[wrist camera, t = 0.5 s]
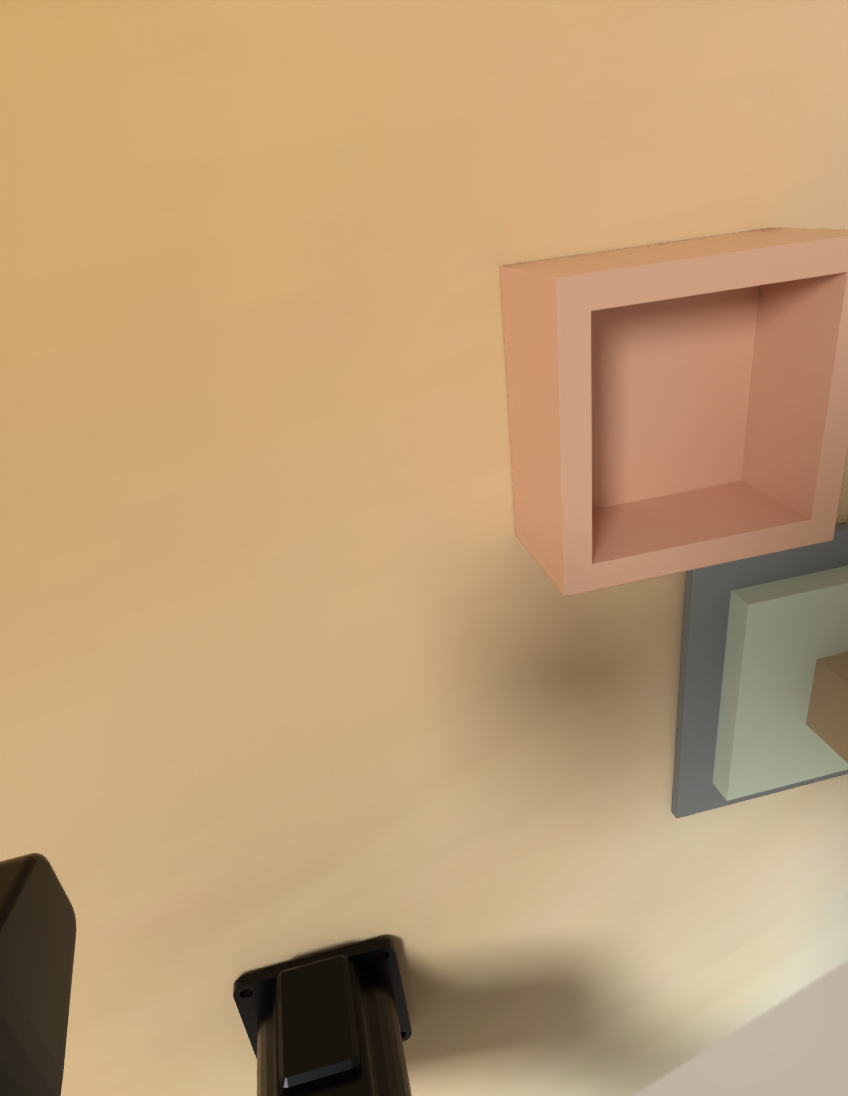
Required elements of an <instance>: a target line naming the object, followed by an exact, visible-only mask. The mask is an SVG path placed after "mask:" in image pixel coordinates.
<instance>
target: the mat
mask: <svg viewBox="0 0 848 1096" xmlns="http://www.w3.org/2000/svg"><path fill="white" fill-rule="evenodd" d="M843 566H848V523H844V524H839V525H835V531H834V537H833V540H831V541H826V542H821V543H817V544H812V545H807V546H802V547H798V548H793V549H788V550H783V551H778V552H774V553H769V554H764V555H759V556H755V557H750V558H745V559H740V560H735V561H731V562H726V563H721V564H716V565H712V566H707V567H702V568H697V569H692V570H688V571H686V586H685V602H684V617H683V633H682V649H681V665H680V681H679V697H678V713H677V729H676V745H675V761H674V777H673V793H672V809H671V811H672V813H673V814H674V816H675V817H676V818H680V817H684V816H688V815H691V814H695V813H699V812H703V811H707V810H711V809H714V808H718V807H722V806H726V805H730V804H734V803H737V802H741V801H745V800H749V799H753V798H757V797H760V796H764V795H768V794H772V793H776V792H780V791H783V790H787V789H791V788H795V787H799V786H803V785H806V784H810V783H814V782H818V781H822V780H826V779H829V778H833V777H837V776H841V775H845V774H848V770H844V771H840V772H836V773H832V774H829V775H825V776H821V777H817V778H813V779H809V780H805V781H802V782H798V783H794V784H790V785H786V786H782V787H779V788H775V789H771V790H767V791H763V792H759V793H755V794H752V795H748V796H744V797H740V798H736V799H732V800H729V801H727V800H726V799H725V798H724V797H723V795H722V794H721V793H720V792H719V790H718V789H717V788H716V787H715V785H714V784H713V783H712V782H713V772H714V762H715V751H716V741H717V730H718V720H719V710H720V699H721V689H722V678H723V668H724V658H725V647H726V637H727V626H728V616H729V605H730V595H731V591H732V590H736V589H741V588H746V587H750V586H755V585H760V584H764V583H769V582H773V581H778V580H783V579H787V578H792V577H797V576H801V575H806V574H811V573H815V572H820V571H824V570H829V569H834V568H838V567H843Z"/></svg>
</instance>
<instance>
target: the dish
mask: <svg viewBox="0 0 848 1096" xmlns="http://www.w3.org/2000/svg"><path fill="white" fill-rule="evenodd" d="M500 272H501V290H502V307H503V324H504V341H505V358H506V375H507V392H508V410H509V427H510V444H511V461H512V478H513V495H514V512H515V529H516V537H517V538H518V539H519V540H520V542H521V543H522V544H523V545H524V547H525V548H526V549H527V551H528V552H529V553H530V554H531V556H532V557H533V558H534V559H535V561H536V562H537V563H538V564H539V566H540V567H541V568H542V569H543V571H544V572H545V573H546V574H547V576H548V577H549V578H550V579H551V581H552V582H553V583H554V584H555V586H556V587H557V588H558V589H559V591H560V592H561V593H562V594H563V596H568V595H573V594H578V593H583V592H587V591H592V590H597V589H602V588H607V587H611V586H616V585H621V584H626V583H630V582H635V581H640V580H645V579H649V578H654V577H659V576H664V575H669V574H673V573H678V572H683V571H688V570H692V569H697V568H702V567H707V566H712V565H716V564H721V563H726V562H731V561H735V560H740V559H745V558H750V557H755V556H759V555H764V554H769V553H774V552H778V551H783V550H788V549H793V548H798V547H802V546H807V545H812V544H817V543H821V542H826V541H831V540H833V537H834V531H835V525H836V518H837V512H838V506H839V500H840V494H841V488H842V482H843V476H844V470H845V464H846V458H847V452H848V230H845V229H804V228H767V229H760V230H753V231H746V232H739V233H732V234H724V235H717V236H710V237H703V238H696V239H689V240H682V241H674V242H667V243H660V244H653V245H646V246H639V247H632V248H624V249H617V250H610V251H603V252H596V253H589V254H582V255H574V256H567V257H560V258H553V259H546V260H539V261H532V262H524V263H517V264H510V265H503V266H500Z"/></svg>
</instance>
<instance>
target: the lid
mask: <svg viewBox="0 0 848 1096" xmlns="http://www.w3.org/2000/svg"><path fill="white" fill-rule="evenodd" d="M844 770H848V566H843V567H838V568H834V569H829V570H824V571H820V572H815V573H811V574H806V575H801V576H797V577H792V578H787V579H783V580H778V581H773V582H769V583H764V584H760V585H755V586H750V587H746V588H741V589H736V590H732V591H731V595H730V605H729V616H728V626H727V637H726V647H725V658H724V668H723V678H722V689H721V699H720V710H719V720H718V730H717V741H716V751H715V762H714V772H713V782H712V783H713V784H714V785H715V787H716V788H717V789H718V790H719V792H720V793H721V794H722V795H723V797H724V798H725V799H726V800H727V801H729V800H732V799H736V798H740V797H744V796H748V795H752V794H755V793H759V792H763V791H767V790H771V789H775V788H779V787H782V786H786V785H790V784H794V783H798V782H802V781H805V780H809V779H813V778H817V777H821V776H825V775H829V774H832V773H836V772H840V771H844Z"/></svg>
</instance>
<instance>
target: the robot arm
mask: <svg viewBox="0 0 848 1096" xmlns="http://www.w3.org/2000/svg"><path fill="white" fill-rule="evenodd" d="M75 940H76V919H75V913H74V910H73V907H72V905H71V903H70V901H69V899H68V897H67V895H66V893H65V891H64V889H63V887H62V886H61V884H60V882H59V880H58V878H57V876H56V874H55V872H54V870H53V869H52V867H51V865H50V863H49V861H48V860H47V859H46V857H44V856H43V855H41V854H38V853H32V854H28V855H24V856H20V857H16V858H12V859H8V860H4V861H1V862H0V1096H60V1095H61V1087H62V1079H63V1069H64V1059H65V1048H66V1037H67V1026H68V1016H69V1005H70V994H71V983H72V972H73V962H74V951H75ZM233 997H234V1000H235V1002H236V1005H237V1008H238V1010H239V1013H240V1016H241V1018H242V1021H243V1024H244V1026H245V1029H246V1031H247V1034H248V1037H249V1039H250V1042H251V1045H252V1047H253V1050H254V1053H255V1055H256V1058H257V1096H412V1095H411V1089H410V1083H409V1078H408V1072H407V1066H406V1060H405V1054H404V1049H403V1043H402V1042H403V1041H406V1040H407V1039H408V1038H409V1037H410V1036H411V1033H412V1032H411V1027H410V1021H409V1016H408V1011H407V1006H406V1002H405V997H404V992H403V987H402V982H401V977H400V972H399V967H398V962H397V957H396V952H395V947H394V943H393V941H391V940H390V939H379V940H375V941H371V942H368V943H364V944H360V945H357V946H353V947H349V948H345V949H342V950H338V951H334V952H331V953H327V954H323V955H319V956H316V957H312V958H308V959H305V960H301V961H297V962H294V963H290V964H286V965H282V966H279V967H275V968H271V969H268V970H264V971H260V972H256V973H253V974H249V975H245V976H242V977H240V978H238V979H237V980H236V981H235V982H234V988H233Z"/></svg>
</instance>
